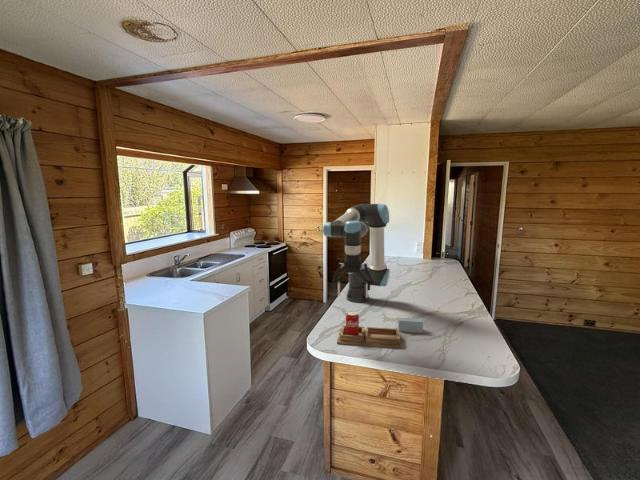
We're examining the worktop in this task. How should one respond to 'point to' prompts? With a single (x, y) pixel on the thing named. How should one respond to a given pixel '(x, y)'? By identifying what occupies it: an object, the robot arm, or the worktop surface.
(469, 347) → the worktop surface
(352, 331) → the beverage can
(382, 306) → the worktop surface
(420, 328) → the bar
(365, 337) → the tray
